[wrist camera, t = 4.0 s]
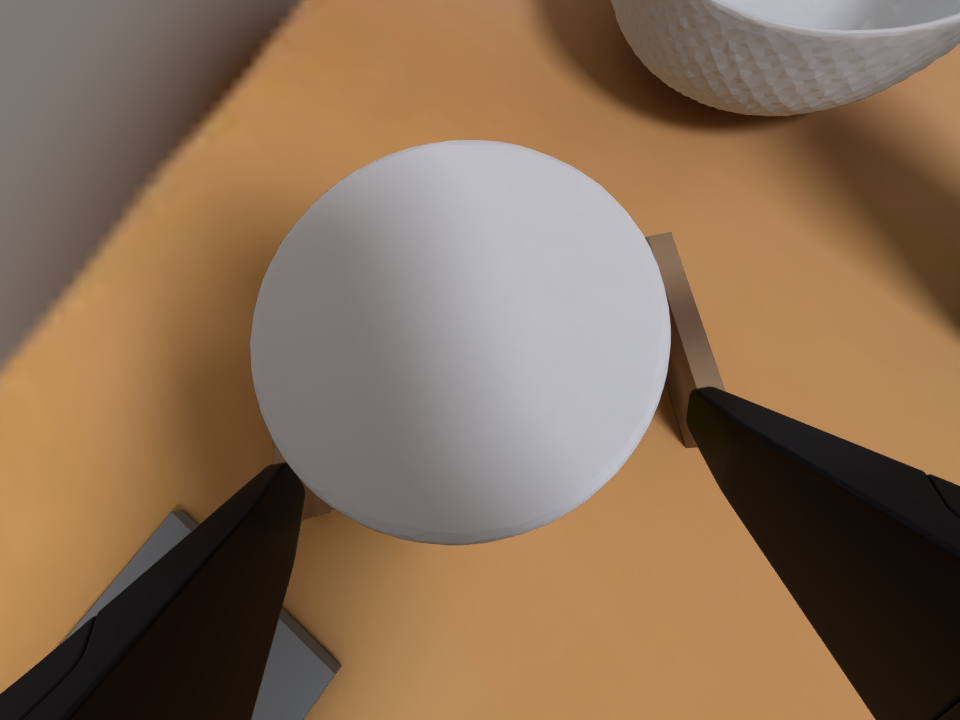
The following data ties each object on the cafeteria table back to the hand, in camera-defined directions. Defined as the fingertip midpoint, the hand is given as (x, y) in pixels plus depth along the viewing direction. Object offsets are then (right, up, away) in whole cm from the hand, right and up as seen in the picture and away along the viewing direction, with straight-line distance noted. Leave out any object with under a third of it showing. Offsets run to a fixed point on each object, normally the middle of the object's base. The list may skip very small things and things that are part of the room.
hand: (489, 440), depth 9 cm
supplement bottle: (0, -1, +9) cm, 9 cm away
